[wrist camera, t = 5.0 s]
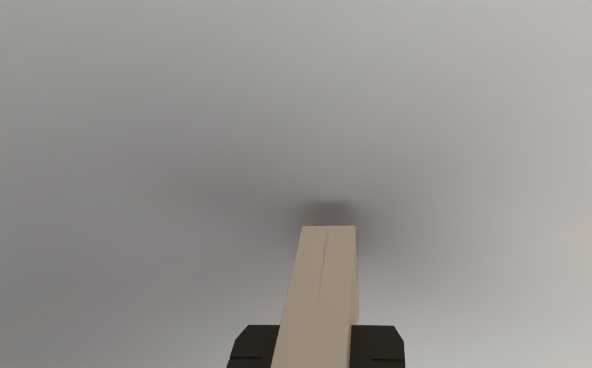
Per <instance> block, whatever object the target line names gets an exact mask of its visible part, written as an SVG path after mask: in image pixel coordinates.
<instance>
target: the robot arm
mask: <svg viewBox="0 0 592 368" xmlns="http://www.w3.org/2000/svg"><path fill="white" fill-rule="evenodd" d="M358 315H359V292H358V273H357V254H356V234H355V225H348V226H302V231H301V235H300V240H299V244H298V249H297V253H296V257H295V262H294V266H293V271H292V275H291V280H290V284H289V288H288V293H287V297H286V302H285V306H284V311H283V315H282V319H281V324H280V325H248V326H247V327H246V328H245V329H244V330H243V332H242V333H241V334H240V335H239V336H238V337H237V338H236V340H235V343H234V346H233V349H232V352H231V355H230V360H229V361H228V364H227V368H405V354H404V341H403V340H402V338H401V336H400V335H399V333H398V332H397V330H396V329H395V327H394V326H377V325H358Z"/></svg>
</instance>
